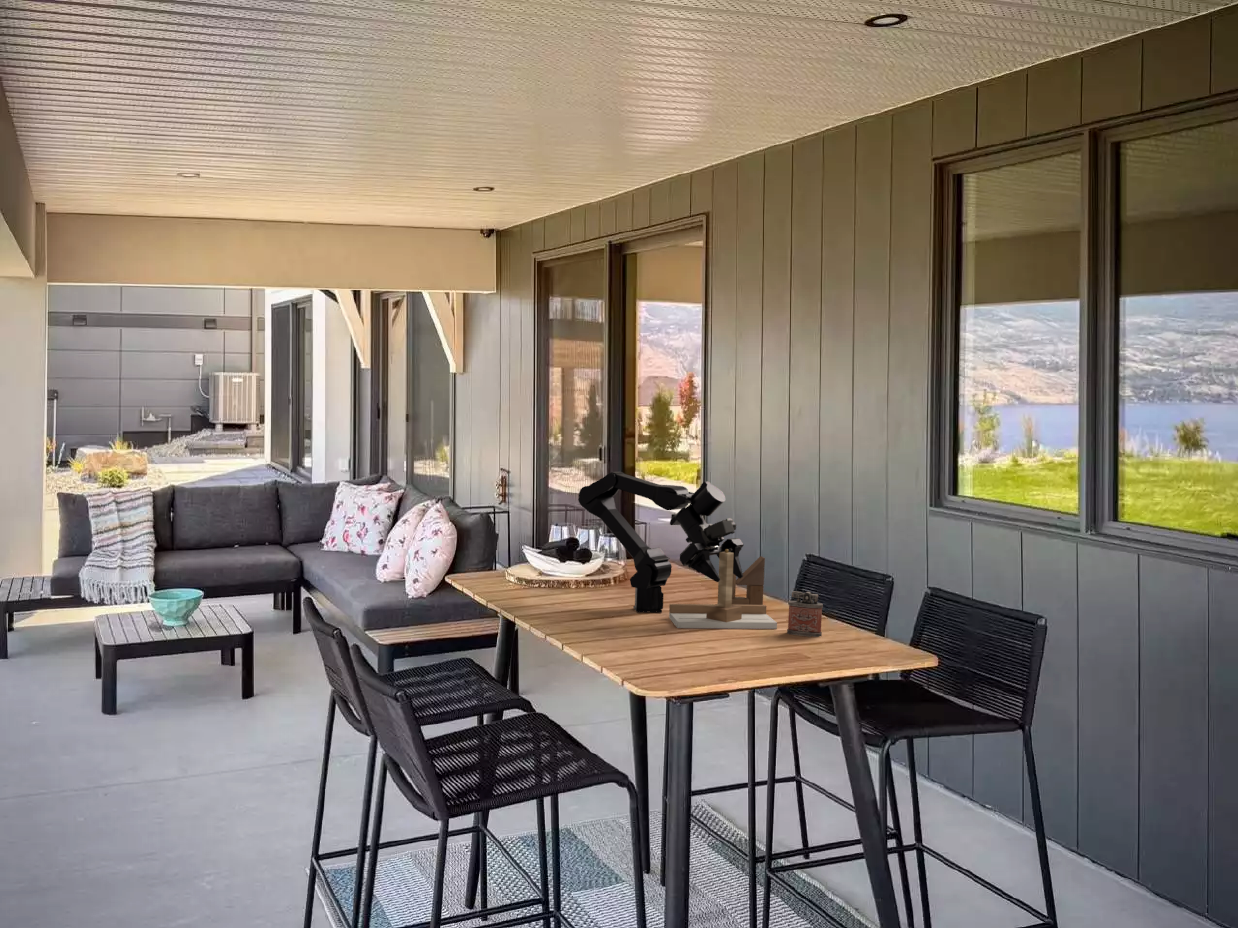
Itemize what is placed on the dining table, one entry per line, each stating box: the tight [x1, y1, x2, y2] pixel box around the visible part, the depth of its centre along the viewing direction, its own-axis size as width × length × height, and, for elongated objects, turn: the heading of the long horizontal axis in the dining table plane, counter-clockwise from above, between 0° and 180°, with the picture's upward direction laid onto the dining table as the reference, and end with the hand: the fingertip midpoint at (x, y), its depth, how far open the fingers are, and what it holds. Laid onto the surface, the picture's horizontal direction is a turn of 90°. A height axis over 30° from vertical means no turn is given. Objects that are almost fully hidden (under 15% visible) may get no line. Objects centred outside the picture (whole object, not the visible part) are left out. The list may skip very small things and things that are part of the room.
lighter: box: [786, 590, 824, 638], centre depth 275 cm, size 8×3×10 cm, turn 71°
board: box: [668, 603, 778, 630], centre depth 285 cm, size 24×12×4 cm, turn 97°
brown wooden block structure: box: [722, 540, 766, 605], centre depth 300 cm, size 4×11×18 cm, turn 100°
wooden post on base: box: [706, 549, 742, 622], centre depth 282 cm, size 6×6×17 cm
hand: (730, 579), depth 281 cm, fingers open, 9 cm apart
